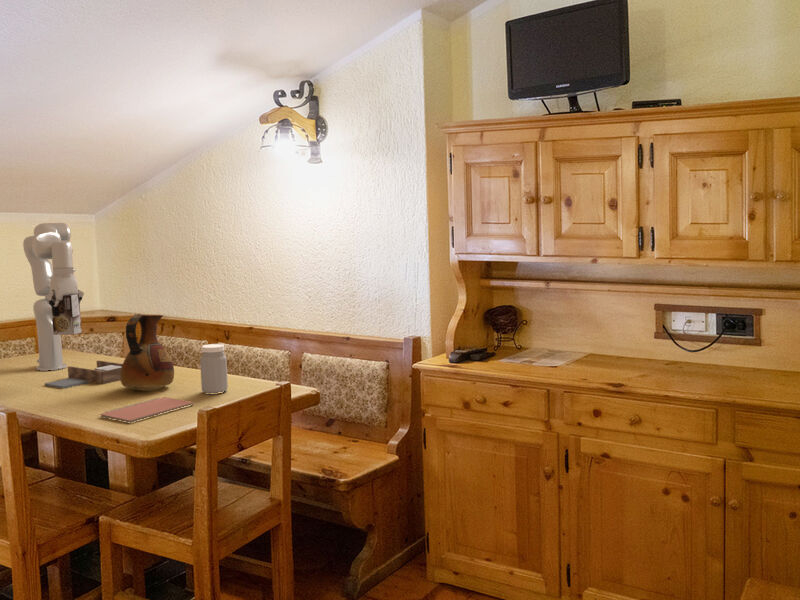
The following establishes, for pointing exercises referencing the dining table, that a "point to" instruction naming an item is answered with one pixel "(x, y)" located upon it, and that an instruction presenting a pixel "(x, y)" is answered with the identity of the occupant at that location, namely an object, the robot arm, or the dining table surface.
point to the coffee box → (67, 316)
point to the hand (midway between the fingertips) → (66, 314)
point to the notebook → (145, 409)
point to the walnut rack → (96, 373)
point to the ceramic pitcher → (146, 357)
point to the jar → (213, 369)
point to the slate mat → (66, 383)
